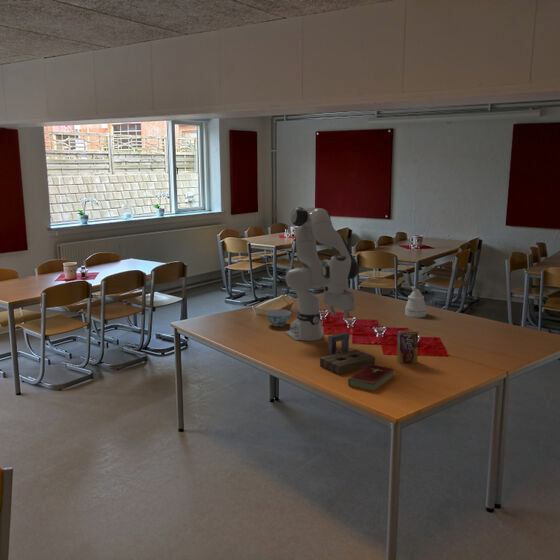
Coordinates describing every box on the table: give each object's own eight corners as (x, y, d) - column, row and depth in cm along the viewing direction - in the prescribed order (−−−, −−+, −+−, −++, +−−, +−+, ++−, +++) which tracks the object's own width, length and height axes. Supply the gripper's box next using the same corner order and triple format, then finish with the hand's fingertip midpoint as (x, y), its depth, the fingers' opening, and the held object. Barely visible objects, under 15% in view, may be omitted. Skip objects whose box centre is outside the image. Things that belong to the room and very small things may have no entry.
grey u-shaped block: (328, 356, 278) (328, 336, 275) (345, 352, 283) (345, 332, 281) (331, 358, 275) (331, 337, 273) (349, 353, 281) (349, 333, 279)
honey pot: (404, 316, 350) (405, 288, 346) (406, 311, 362) (406, 284, 358) (425, 318, 346) (426, 289, 343) (426, 312, 358) (427, 285, 355)
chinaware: (291, 328, 328) (291, 315, 326) (265, 328, 328) (265, 315, 326) (291, 321, 342) (291, 309, 341) (266, 321, 343) (266, 309, 341)
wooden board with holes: (320, 365, 264) (319, 357, 264) (355, 357, 276) (355, 349, 275) (338, 374, 253) (338, 366, 252) (375, 364, 265) (375, 356, 264)
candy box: (414, 360, 270) (415, 329, 267) (417, 363, 266) (418, 332, 263) (396, 361, 269) (397, 330, 266) (399, 364, 265) (400, 333, 262)
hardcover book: (348, 386, 240) (348, 377, 239) (370, 372, 257) (370, 363, 256) (373, 392, 233) (373, 383, 232) (394, 377, 250) (394, 368, 249)
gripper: (358, 291, 266) (358, 319, 268) (331, 285, 283) (331, 311, 285) (347, 293, 262) (347, 321, 265) (321, 286, 279) (321, 313, 282)
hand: (339, 316), depth 275 cm, fingers open, 8 cm apart
